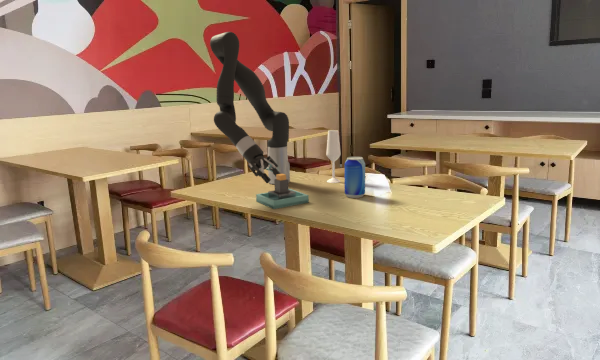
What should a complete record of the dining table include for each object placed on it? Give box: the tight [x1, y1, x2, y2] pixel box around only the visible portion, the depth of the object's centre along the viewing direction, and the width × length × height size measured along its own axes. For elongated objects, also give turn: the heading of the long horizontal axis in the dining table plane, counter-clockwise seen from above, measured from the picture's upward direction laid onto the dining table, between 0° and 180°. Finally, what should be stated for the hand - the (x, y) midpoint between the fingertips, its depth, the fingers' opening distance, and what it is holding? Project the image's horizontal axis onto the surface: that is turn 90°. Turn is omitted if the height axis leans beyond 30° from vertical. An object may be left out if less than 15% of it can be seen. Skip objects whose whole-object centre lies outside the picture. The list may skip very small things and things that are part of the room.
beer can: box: [344, 156, 366, 199], centre depth 201 cm, size 8×8×16 cm
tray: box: [255, 188, 310, 210], centre depth 195 cm, size 16×14×3 cm
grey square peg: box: [273, 174, 290, 194], centre depth 194 cm, size 4×4×10 cm
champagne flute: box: [325, 129, 341, 184], centre depth 228 cm, size 7×7×24 cm
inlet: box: [268, 189, 296, 200], centre depth 195 cm, size 8×8×3 cm
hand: (274, 179), depth 196 cm, fingers open, 8 cm apart
